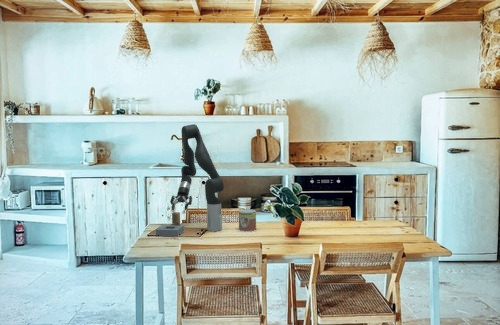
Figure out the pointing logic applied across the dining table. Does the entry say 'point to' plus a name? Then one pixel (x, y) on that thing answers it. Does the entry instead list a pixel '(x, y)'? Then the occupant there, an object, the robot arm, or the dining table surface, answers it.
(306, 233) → the dining table surface
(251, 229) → the canned food
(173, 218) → the walnut post
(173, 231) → the charcoal well block
